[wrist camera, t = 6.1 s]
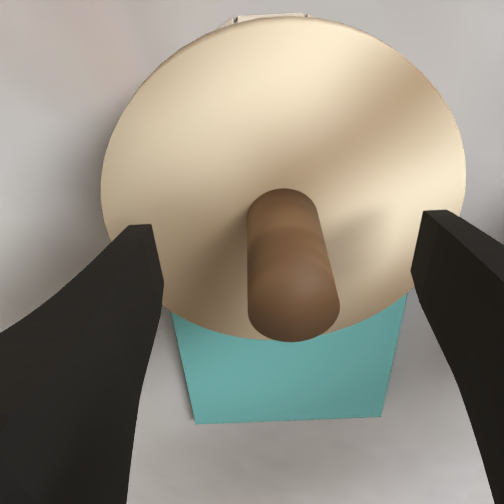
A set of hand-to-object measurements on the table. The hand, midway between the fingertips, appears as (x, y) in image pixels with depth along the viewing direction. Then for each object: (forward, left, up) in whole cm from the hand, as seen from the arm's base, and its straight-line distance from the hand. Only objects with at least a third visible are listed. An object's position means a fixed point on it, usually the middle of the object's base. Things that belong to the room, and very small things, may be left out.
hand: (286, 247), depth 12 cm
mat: (-7, +11, -7) cm, 15 cm away
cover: (0, 0, -3) cm, 3 cm away
